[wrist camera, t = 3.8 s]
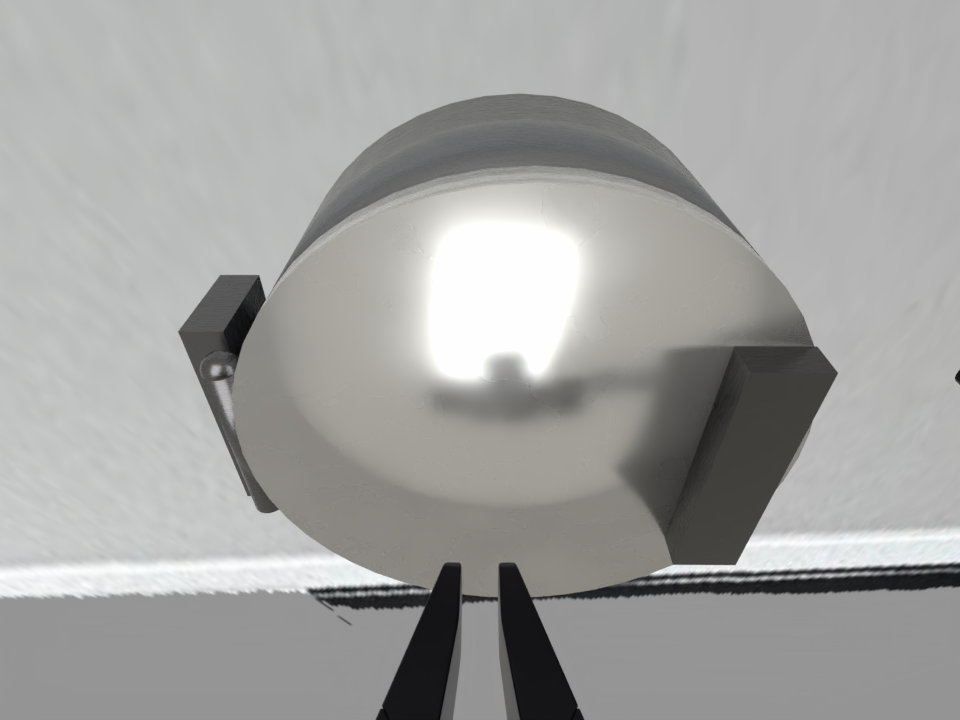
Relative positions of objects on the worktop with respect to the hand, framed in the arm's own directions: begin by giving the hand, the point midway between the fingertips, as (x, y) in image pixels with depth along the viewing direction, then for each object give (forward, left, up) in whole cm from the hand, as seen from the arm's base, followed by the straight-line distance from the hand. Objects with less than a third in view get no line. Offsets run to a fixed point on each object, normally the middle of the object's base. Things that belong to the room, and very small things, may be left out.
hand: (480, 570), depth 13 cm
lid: (-1, 0, -5) cm, 5 cm away
